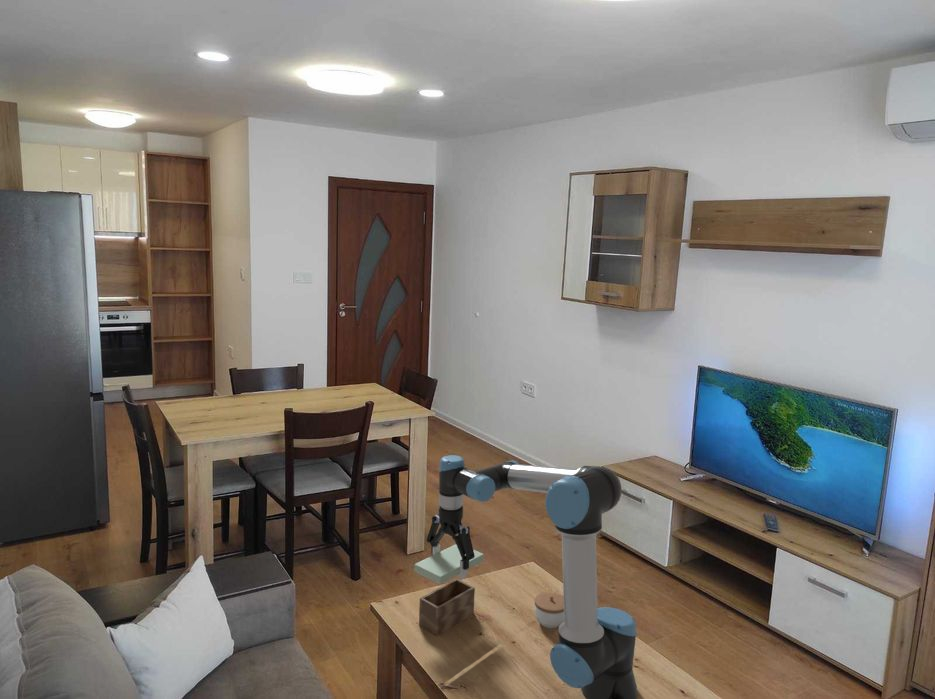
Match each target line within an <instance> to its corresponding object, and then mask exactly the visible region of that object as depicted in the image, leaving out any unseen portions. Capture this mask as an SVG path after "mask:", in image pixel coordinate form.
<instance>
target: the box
mask: <svg viewBox="0 0 935 699" xmlns="http://www.w3.org/2000/svg"><path fill="white" fill-rule="evenodd" d="M475 591H476V588H475V587H474V586H473V585H471V584H469V583H467V582H464V581H463V580H460V578H454V579H452V580H451V581H449V582H447V583H445V584H443V585H442V586H440V587H438V588H436V589H434V590H432V591H430V592H428V593H427V594H425V595H422V596H421V597H420V598H419V608H418V609H419V610H418V611H419V614H418V625H419V626H420V627H422V628H423V629H424V630H426V631H428V632H430V633H432V635H434V636H436V637H438V636H440V635H441V634H442V635H443V633H444V632H446V631H448V630H449V629H451V628H452V627H454V626H456V625H457V624H459V623H461V622H463V621H464V620H466V619H467V618H469V617H470V616H472V615H474V614H475V613H474V612H475V593H476V592H475Z"/></svg>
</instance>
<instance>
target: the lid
mask: <svg viewBox="0 0 935 699" xmlns="http://www.w3.org/2000/svg"><path fill="white" fill-rule="evenodd" d="M473 551H474V555H475V557H474V558H473V559H471V560H469V568H468V569H467V571H468V570H470V569H471V568H475V567H476V566H478V565H480V564H481V563H483V562H484V559H485V558H484V556H485V555H484V553H482V552H480V551H478V550H476V549H473ZM465 555H466V554H465ZM460 559H462V557H461V555H460V552H459V550H458V547H457V545H456V543H454V544H453V545H451V546H449V547H448V548H444V549H443V550H440V552H439V553H437V554H434V555H432V554H431V556H429V557H427V558H424V559H423V560H420V561H418V562H416V563H414V566H413V567H414V568H413V569H414V570H413V572H414V573H416V574H418V575H420V576H422V577H424V578H426V579H428V580H430V581H432V582H434V583H435V584H438V585H442V584H444V583H446V582H448V581H449V580H452V579H453V578H455V577H457V576H458V575H459V576H460Z"/></svg>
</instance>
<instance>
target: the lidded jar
mask: <svg viewBox="0 0 935 699" xmlns="http://www.w3.org/2000/svg"><path fill="white" fill-rule="evenodd" d="M534 614H535V617H536V620H537V622H539V623H540V625H541V626H542V627H544V628H546V629H557V628H559V626H560V624H561V623H563V622H564V598H563V594H562V595H561V594H560V593H557V592H552V591H547V592H546V591H545V592H541V593H539V594H537V595H536V596H535V597H534Z"/></svg>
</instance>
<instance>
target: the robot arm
mask: <svg viewBox="0 0 935 699" xmlns="http://www.w3.org/2000/svg"><path fill="white" fill-rule="evenodd" d="M465 466H466V464H465V459H464V458H463V457H462V456H460V455H453V454H452V455H451V454H449V455H444V456H443V457H442V458H440V461H439V469H438V472H439V475H438V477H439V482H438V484H439V487H438V491H439V493H438V505H439V506H438V513H437V514H435V515H433V516H432V518H431V525H430V529H429V531H428V534H427V537H426V543H430V546H431V550H430V552H431V556H432V555H434V554H437V553H439V552H441V544H440V541H441V540H442V538H443V537H444V536H445V534H446V535H448V536H450V537H451V538H452V540H454V542H455V544H456V545H457V547H458V550H459V552H460V555H461V557H462V559H460V574H459V580H461V581H463V579H466V578H467V577H468V570H469V569H468V568H469V560H471V559H473V558H474V557H475V555H474V551H473V550H474V548H473V542H472V540H471V535H470V534H471V533H470V532H471V530H470V528H471V527H470V526H468V525H467V526H464V525H463V524H462V520H463V518H464V507H463V505H464V496H465V497H467V498H470V499H471V500H475V501H478V502H481V503H486V502H488V501H490V499H491V498H493V496H494V495H495V493H496V492H498V491H501V490H504V489H511V490H520V491H527V492H528V491H529V492H535V493H536V492H537V493H545V494H546V495H545V505H544V506H545V510H546V514H547V515H548V516H550V517H549V519H550V521H551V523H553V524H554V525H555V530H556V531H557V532H558V533H559V534H561V554H562V556H561V557H562V558H561V559H562V561H561V562H562V587H563V588H562V589H563V590H562V592H563V593H562V596H563V598H564V621H563V623H561V624H560V625H559V626H558V643H555V644H554V645H553V646H552V648H551V650H550V652H549V658H550V664H551V667H552V668H553V671H554V672H555V674H556V675H557V676H558V678H559V679H560V680H561V681H562V682H563V683H564V684H566V685H567V686H569V687H570V688H574V689H581V692H582V694H583V696H584V697H585V698H586V699H637V697H638V696H637V695H638V694H637V693H638V686H637V683H636V678H635V673H634V669H633V666H634V658H635V647H636V638H637V622H636V621H635V619H634V617H633V616H632V615H630V614H629V613H627V612H626V611H624V610H622V609H619V608H615V607H609V606H601V607H598V571H597V569H598V568H597V567H598V564H597V563H598V562H597V535H598V534H599V533H600V532H601V531H602V528H603V527H602V526H603V522H602V521H603V520H602V519H603V518H602V516H603V514H605V513H607V512H609V511H611V510H612V509H614V507H616V506H617V505H618V503H619V502H620V499H621V496H622V492H623V490H622V485H621V484H622V483H621V481H620V479H619V477H618V475H616V473H615V472H614V471H613V470H612V469H610V468H607V467H605V466H598V465H597V466H595V465H582V466H580V467H579V468H571V467H558V466H545V465H544V466H543V465H533V464H531V465H530V464H521V463H519V462H518V461H517V460H509V461H508V460H507V461H503V462H500V463H498V464H495V465H491V466H488V467H485V468H482V469H481V468H480V469H478V470H473V469H469V468H467V467H465ZM465 554H466V555H465ZM467 569H468V570H467Z"/></svg>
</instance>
